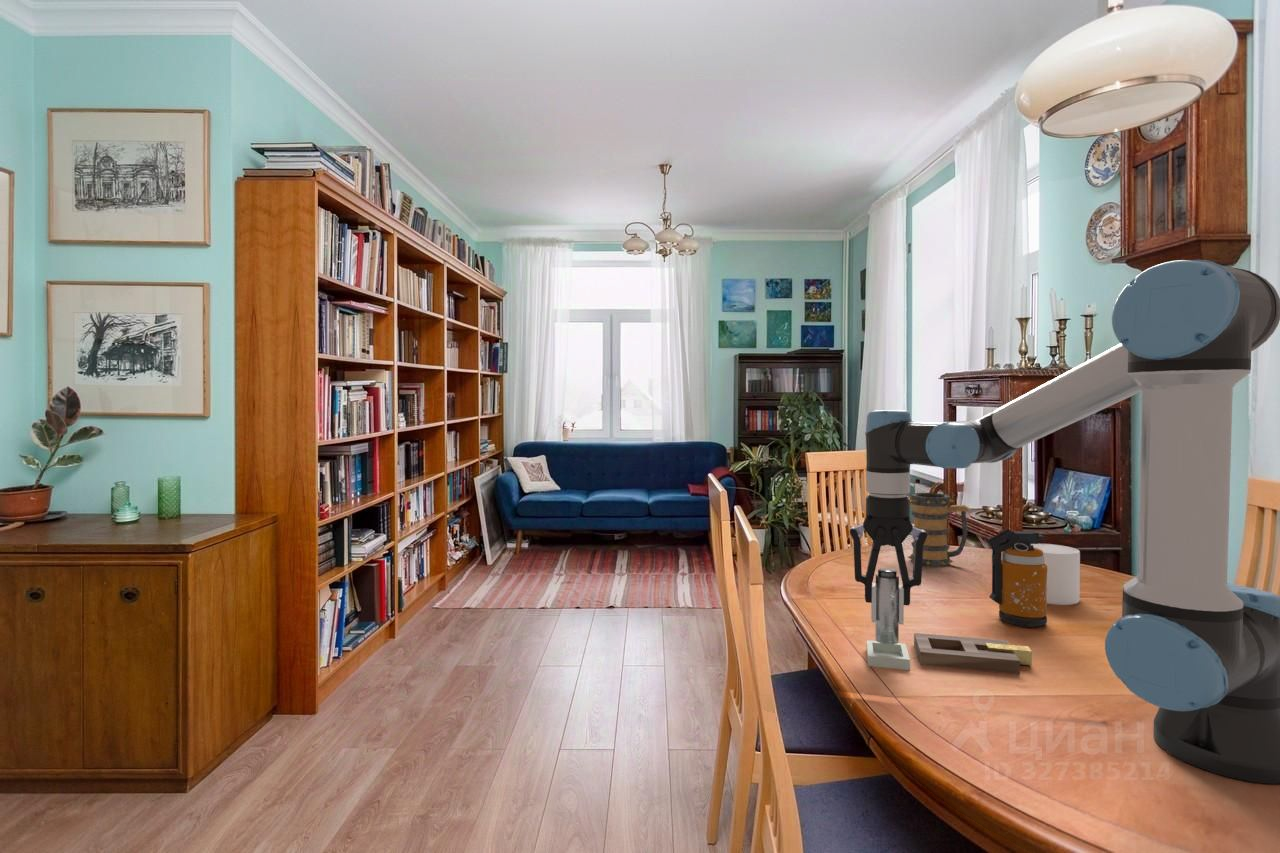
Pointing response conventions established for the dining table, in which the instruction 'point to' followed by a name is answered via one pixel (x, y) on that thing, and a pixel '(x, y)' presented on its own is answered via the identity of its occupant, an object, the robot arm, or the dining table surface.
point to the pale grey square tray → (887, 655)
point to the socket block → (964, 653)
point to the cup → (1061, 573)
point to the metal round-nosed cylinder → (887, 607)
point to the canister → (1019, 578)
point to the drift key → (1013, 651)
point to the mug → (936, 527)
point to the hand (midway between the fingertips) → (887, 620)
